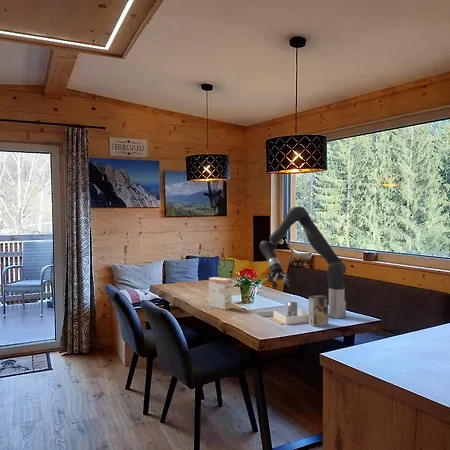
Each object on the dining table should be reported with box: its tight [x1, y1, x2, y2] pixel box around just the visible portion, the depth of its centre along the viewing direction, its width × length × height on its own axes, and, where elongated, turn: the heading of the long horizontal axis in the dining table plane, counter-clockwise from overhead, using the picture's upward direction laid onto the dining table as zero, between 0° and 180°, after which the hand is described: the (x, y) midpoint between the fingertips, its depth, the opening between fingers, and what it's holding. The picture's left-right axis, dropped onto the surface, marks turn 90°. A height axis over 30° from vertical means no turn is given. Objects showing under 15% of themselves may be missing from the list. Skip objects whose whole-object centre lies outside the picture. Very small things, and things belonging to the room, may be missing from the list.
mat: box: [256, 311, 274, 318], centre depth 268 cm, size 10×10×1 cm
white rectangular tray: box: [268, 308, 309, 325], centre depth 257 cm, size 23×18×4 cm
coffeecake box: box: [208, 276, 233, 311], centre depth 288 cm, size 15×7×20 cm, turn 44°
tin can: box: [287, 301, 298, 317], centre depth 256 cm, size 6×6×10 cm
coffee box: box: [308, 294, 329, 327], centre depth 244 cm, size 9×6×16 cm
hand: (282, 287), depth 267 cm, fingers open, 8 cm apart
